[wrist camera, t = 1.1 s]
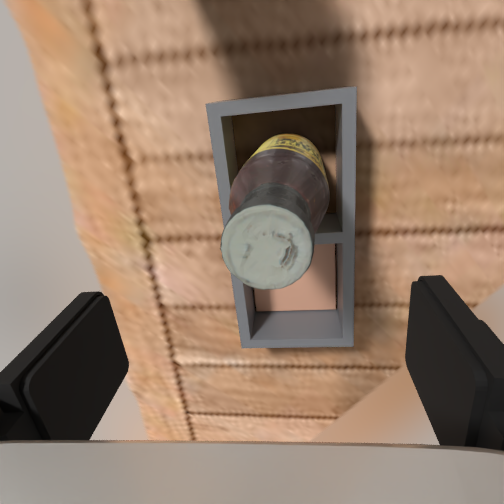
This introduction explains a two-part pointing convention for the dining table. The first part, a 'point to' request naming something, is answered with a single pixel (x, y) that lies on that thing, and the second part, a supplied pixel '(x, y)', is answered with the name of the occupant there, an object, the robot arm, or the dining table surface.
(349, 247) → the dock
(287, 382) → the dining table surface
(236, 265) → the sauce bottle
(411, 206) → the dining table surface
